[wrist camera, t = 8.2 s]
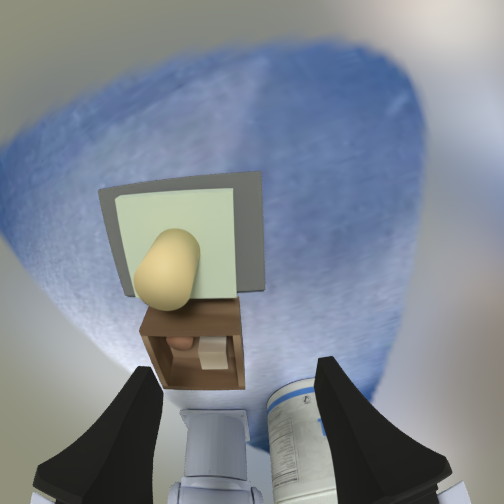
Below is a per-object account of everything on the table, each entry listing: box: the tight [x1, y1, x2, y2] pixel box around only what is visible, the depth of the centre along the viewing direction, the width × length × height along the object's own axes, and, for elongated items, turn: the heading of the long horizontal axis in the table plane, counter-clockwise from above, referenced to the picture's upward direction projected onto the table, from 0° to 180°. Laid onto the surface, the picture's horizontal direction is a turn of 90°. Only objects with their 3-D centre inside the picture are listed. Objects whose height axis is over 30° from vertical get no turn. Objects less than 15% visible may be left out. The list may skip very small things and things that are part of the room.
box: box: [139, 297, 245, 390], centre depth 21 cm, size 7×7×4 cm
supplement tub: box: [267, 378, 338, 504], centre depth 21 cm, size 10×10×15 cm
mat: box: [98, 171, 265, 296], centre depth 18 cm, size 8×11×1 cm
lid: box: [115, 188, 237, 311], centre depth 15 cm, size 7×7×6 cm
